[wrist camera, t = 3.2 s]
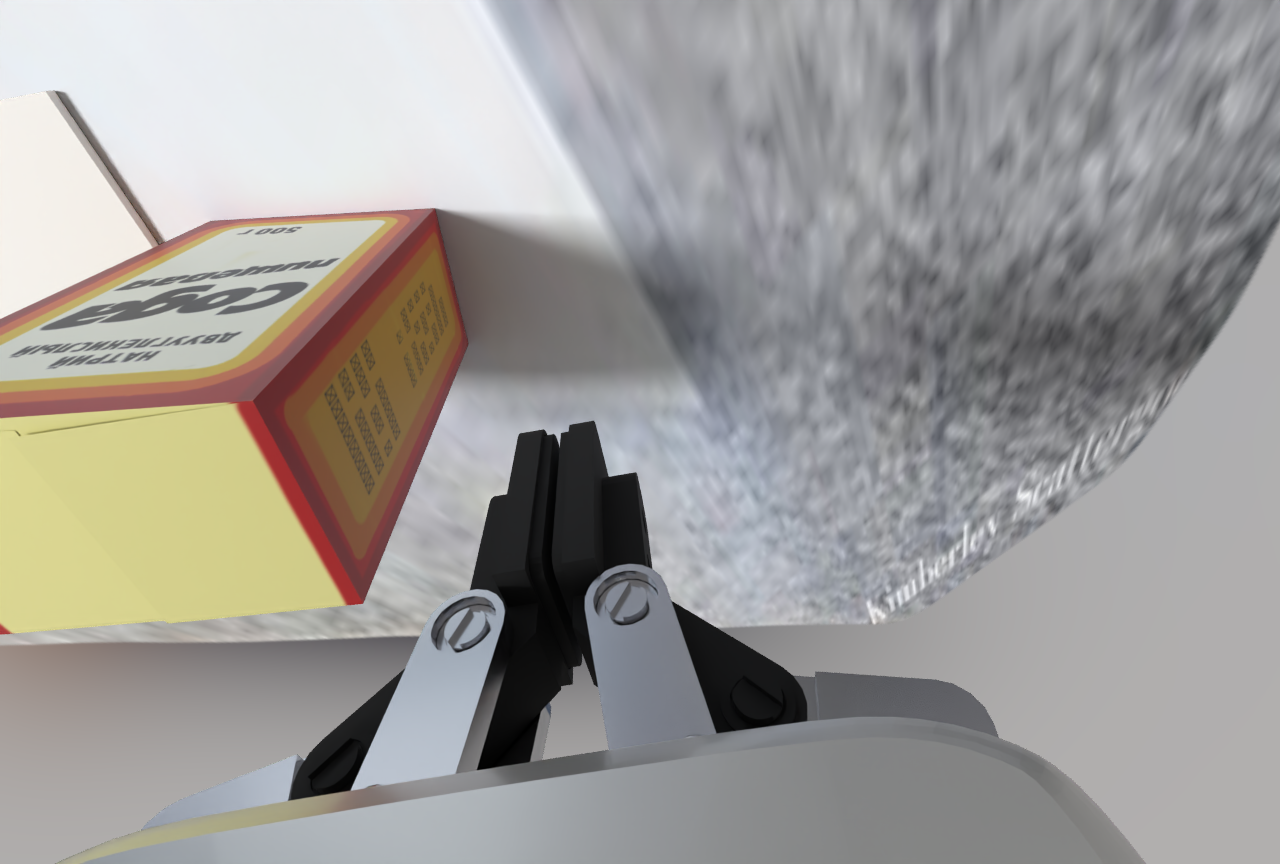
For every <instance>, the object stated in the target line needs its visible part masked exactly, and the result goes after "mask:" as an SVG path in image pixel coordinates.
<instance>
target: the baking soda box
mask: <svg viewBox="0 0 1280 864" xmlns="http://www.w3.org/2000/svg"><path fill="white" fill-rule="evenodd" d="M467 346H468V340H467V336H466V332H465V328H464V324H463V320H462V316H461V312H460V308H459V304H458V300H457V296H456V292H455V288H454V284H453V280H452V276H451V272H450V268H449V264H448V259H447V255H446V251H445V247H444V243H443V239H442V235H441V231H440V227H439V223H438V219H437V215H436V211H435V208H431V209H414V210H396V211H378V212H361V213H343V214H325V215H308V216H290V217H272V218H255V219H237V220H219V221H210V222H208V223H205V224H203V225H201V226H199V227H197V228H195V229H193V230H190V231H188V232H186V233H184V234H182V235H180V236H177V237H175V238H173V239H171V240H169V241H167V242H165V243H162V244H160V245H158V246H156V247H154V248H152V249H150V250H147V251H145V252H143V253H141V254H139V255H137V256H134V257H132V258H130V259H128V260H126V261H124V262H122V263H119V264H117V265H115V266H113V267H111V268H109V269H107V270H104V271H102V272H100V273H98V274H96V275H94V276H91V277H89V278H87V279H85V280H83V281H81V282H79V283H76V284H74V285H72V286H70V287H68V288H66V289H64V290H61V291H59V292H57V293H55V294H53V295H51V296H48V297H46V298H44V299H42V300H40V301H38V302H36V303H33V304H31V305H29V306H27V307H25V308H23V309H21V310H18V311H16V312H14V313H12V314H10V315H8V316H6V317H3V318H1V319H0V634H12V633H24V632H35V631H47V630H59V629H71V628H83V627H94V626H106V625H118V624H130V623H141V622H153V621H166V622H167V623H177V622H187V621H196V620H206V619H216V618H226V617H236V616H246V615H256V614H266V613H276V612H286V611H295V610H305V609H315V608H325V607H335V606H345V605H355V604H363V602H364V600H365V597H366V595H367V593H368V590H369V588H370V585H371V583H372V580H373V578H374V575H375V573H376V570H377V568H378V565H379V563H380V561H381V558H382V556H383V553H384V551H385V548H386V546H387V543H388V541H389V538H390V536H391V533H392V531H393V529H394V526H395V524H396V521H397V519H398V516H399V514H400V511H401V509H402V506H403V504H404V501H405V499H406V496H407V494H408V492H409V489H410V487H411V484H412V482H413V479H414V477H415V474H416V472H417V469H418V467H419V464H420V462H421V460H422V457H423V455H424V452H425V450H426V447H427V445H428V442H429V440H430V437H431V435H432V432H433V430H434V428H435V425H436V423H437V420H438V418H439V415H440V413H441V410H442V408H443V405H444V403H445V400H446V398H447V396H448V393H449V391H450V388H451V386H452V383H453V381H454V378H455V376H456V373H457V371H458V368H459V366H460V363H461V361H462V359H463V356H464V354H465V351H466V349H467Z"/></svg>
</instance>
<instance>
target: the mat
mask: <svg viewBox="0 0 1280 864" xmlns="http://www.w3.org/2000/svg"><path fill="white" fill-rule="evenodd" d="M156 246H158V243H157V242H156V240H155V239H154V237H153V236H152V234H151V233H150V231H149V230H148V228H147V227H146V225H145V224H144V222H143V221H142V219H141V218H140V216H139V215H138V214H137V212H136V211H135V209H134V208H133V206H132V205H131V203H130V202H129V200H128V199H127V197H126V196H125V194H124V193H123V191H122V190H121V188H120V187H119V186H118V184H117V183H116V181H115V180H114V178H113V177H112V175H111V174H110V172H109V171H108V169H107V168H106V166H105V165H104V163H103V162H102V160H101V159H100V157H99V156H98V155H97V153H96V152H95V150H94V149H93V147H92V146H91V144H90V143H89V141H88V140H87V138H86V137H85V135H84V134H83V132H82V131H81V129H80V128H79V126H78V125H77V124H76V122H75V121H74V119H73V118H72V116H71V115H70V113H69V112H68V110H67V109H66V107H65V106H64V104H63V103H62V101H61V100H60V98H59V97H58V95H57V94H56V93H55V91H44V92H39V93H34V94H29V95H24V96H19V97H13V98H8V99H3V100H0V319H1V318H3V317H6V316H8V315H10V314H12V313H14V312H16V311H18V310H21V309H23V308H25V307H27V306H29V305H31V304H33V303H36V302H38V301H40V300H42V299H44V298H46V297H48V296H51V295H53V294H55V293H57V292H59V291H61V290H64V289H66V288H68V287H70V286H72V285H74V284H76V283H79V282H81V281H83V280H85V279H87V278H89V277H91V276H94V275H96V274H98V273H100V272H102V271H104V270H107V269H109V268H111V267H113V266H115V265H117V264H119V263H122V262H124V261H126V260H128V259H130V258H132V257H134V256H137V255H139V254H141V253H143V252H145V251H147V250H150V249H152V248H154V247H156Z"/></svg>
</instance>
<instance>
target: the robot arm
mask: <svg viewBox="0 0 1280 864" xmlns="http://www.w3.org/2000/svg"><path fill="white" fill-rule="evenodd" d="M582 654H583V656H584V659H585V661H586V664H587V667H588V669H589V672H590V675H591V677H592V680H593V683H594V685H596V686H597V687H598V689H599V695H600V700H601V706H602V712H603V717H604V724H605V729H606V735H607V741H608V747H609V750H605V751H599V752H593V753H586V754H579V755H573V756H566V757H560V758H554V759H548V760H542V757H543V752H544V748H545V743H546V738H547V732H548V727H549V723H550V717H551V705H550V701H551V700H552V699H553V698H554V697H555V696H556V694H557V693H558V692H559V691H560V690H561V686H564V685H571V684H572V683H573V667H576V666H580V665H581V663H582ZM56 864H1146V863H1145V862H1144V860H1143V859H1142V858H1141V857H1140V855H1139V854H1138V853H1137V851H1136V850H1135V849H1134V848H1133V846H1131V844H1130V843H1129V841H1128V840H1127V839H1126V838H1125V836H1124V835H1123V834H1122V833H1121V832H1120V830H1119V829H1118V828H1117V827H1116V826H1115V825H1114V823H1113V822H1112V821H1111V820H1110V819H1109V818H1108V816H1107V815H1106V814H1105V813H1104V812H1103V811H1102V809H1101V808H1100V807H1099V806H1098V805H1097V804H1096V803H1095V802H1094V801H1093V800H1092V799H1091V798H1090V797H1089V796H1088V795H1087V794H1086V793H1085V792H1084V791H1083V790H1082V789H1081V788H1080V787H1079V786H1078V785H1077V784H1076V783H1075V782H1074V781H1073V780H1072V779H1071V778H1069V777H1068V776H1067V775H1066V774H1064V773H1063V772H1062V771H1060V770H1059V769H1058V768H1057V767H1056V766H1054V765H1053V764H1051V763H1050V762H1048V761H1047V760H1045V759H1043V758H1042V757H1040V756H1039V755H1037V754H1035V753H1033V752H1031V751H1028V750H1026V749H1024V748H1022V747H1020V746H1018V745H1016V744H1013V743H1011V742H1008V741H1005V740H1003V739H1000V738H999V737H998V734H997V731H996V729H995V726H994V723H993V721H992V719H991V718H990V716H989V714H988V713H987V710H986V709H985V707H984V706H983V705H982V704H981V703H980V702H979V701H978V700H977V699H976V698H975V697H974V696H973V695H972V694H971V693H969V692H967V691H965V690H964V689H962V688H960V687H958V686H956V685H954V684H952V683H948V682H943V681H939V680H932V679H916V678H902V677H887V676H871V675H857V674H843V673H828V672H815V677H803V676H793V675H791V674H790V673H789V672H787V671H786V670H785V669H784V668H783V667H781V666H780V665H778V664H776V663H775V662H773V661H771V660H770V659H768V658H766V657H765V656H763V655H761V654H760V653H758V652H756V651H755V650H753V649H751V648H750V647H748V646H746V645H745V644H743V643H741V642H740V641H738V640H736V639H734V638H733V637H731V636H729V635H728V634H726V633H724V632H723V631H721V630H719V629H718V628H716V627H714V626H713V625H711V624H709V623H708V622H706V621H704V620H703V619H701V618H699V617H698V616H696V615H694V614H693V613H691V612H689V611H688V610H686V609H684V608H683V607H681V606H679V605H677V604H676V603H674V602H672V601H671V599H670V596H669V593H668V590H667V587H666V584H665V583H664V581H663V579H662V577H661V576H660V575H659V574H658V573H657V572H655V571H654V570H653V569H652V562H651V554H650V546H649V538H648V530H647V523H646V517H645V511H644V505H643V500H642V495H641V490H640V485H639V481H638V476H637V473H636V472H635V473H629V474H624V475H618V476H612V477H609V476H608V472H607V468H606V464H605V460H604V456H603V452H602V448H601V444H600V440H599V436H598V432H597V428H596V424H595V422H594V421H589V422H584V423H578V424H572V425H570V426H569V432H564V433H561V440H560V447H559V444H558V441H557V438H556V436H555V434H552V435H547V433H546V431H545V430H544V429H543V430H538V431H532V432H526V433H520V434H519V436H518V440H517V445H516V451H515V456H514V461H513V466H512V472H511V477H510V482H509V487H508V492H507V494H506V495H500V496H494V497H493V498H492V499H491V501H490V504H489V508H488V513H487V517H486V522H485V526H484V530H483V535H482V539H481V544H480V548H479V553H478V557H477V561H476V566H475V570H474V575H473V579H472V584H471V588H470V590H469V591H464V592H462V593H459V594H457V595H455V596H452V597H451V598H449V599H448V600H446V601H445V602H444V603H442V604H441V605H440V606H439V607H438V608H437V609H436V610H435V611H434V612H433V613H432V614H431V616H430V618H429V619H428V621H427V622H426V624H425V626H424V628H423V630H422V633H421V635H420V637H419V640H418V642H417V644H416V646H415V648H414V651H413V653H412V655H411V657H410V659H409V662H408V664H407V666H406V668H405V669H404V670H403V671H401V672H400V673H399V674H398V675H397V676H396V677H395V678H393V679H392V680H391V681H390V682H389V683H388V684H386V685H385V686H384V687H383V688H382V689H381V690H380V691H378V692H377V693H376V694H375V695H374V696H373V697H371V698H370V699H369V700H368V701H367V702H366V703H365V704H363V705H362V706H361V707H360V708H359V709H358V710H356V711H355V712H354V713H353V714H352V715H351V716H349V717H348V718H347V719H346V720H345V721H344V722H343V723H341V724H340V725H339V726H338V727H337V728H336V729H335V730H333V731H332V732H331V733H330V734H329V735H328V736H326V737H325V738H324V739H323V740H322V741H321V742H320V743H319V744H318V745H317V746H316V747H315V748H314V749H313V750H312V752H310V753H309V755H308V756H307V757H306V758H304V759H302V758H301V757H300V756H299V755H294V756H291V757H289V758H286V759H284V760H281V761H278V762H276V763H273V764H271V765H268V766H266V767H263V768H260V769H258V770H255V771H253V772H250V773H248V774H245V775H242V776H240V777H237V778H234V779H232V780H229V781H227V782H224V783H222V784H219V785H217V786H214V787H211V788H209V789H206V790H203V791H201V792H198V793H196V794H193V795H191V796H188V797H185V798H183V799H181V800H179V801H177V802H175V803H173V804H171V805H170V806H168V807H166V808H164V809H163V810H162V811H161V812H159V813H158V814H157V815H156V816H155V817H153V818H152V819H151V820H150V821H149V822H147V824H146V825H145V826H144V827H143V828H142V829H141V831H138V832H135V833H131V834H128V835H125V836H122V837H119V838H115V839H112V840H110V841H107V842H105V843H102V844H100V845H97V846H95V847H92V848H90V849H87V850H85V851H83V852H80V853H78V854H75V855H73V856H71V857H68V858H66V859H63V860H61V861H59V862H58V863H56Z"/></svg>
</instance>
